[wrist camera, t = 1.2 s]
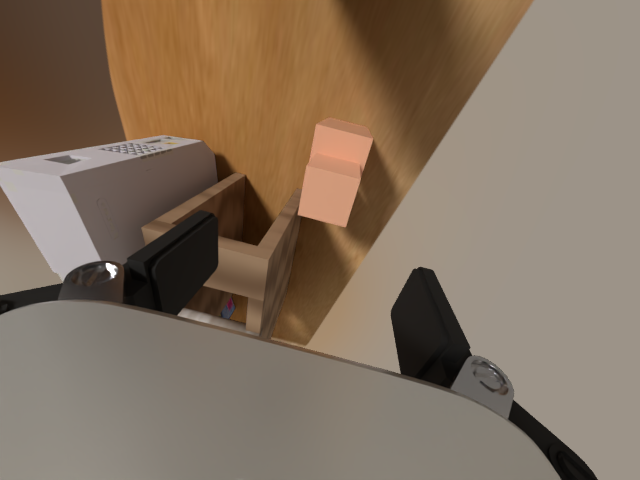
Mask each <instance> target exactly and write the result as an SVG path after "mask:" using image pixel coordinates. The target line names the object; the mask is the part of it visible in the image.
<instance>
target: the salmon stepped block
mask: <svg viewBox="0 0 640 480" xmlns="http://www.w3.org/2000/svg"><path fill="white" fill-rule="evenodd" d="M372 142H373V137H372V135H371V133H370V132H369V130H368V128H367V127H365V126H361V125H357V124H354V123H350V122H346V121H342V120H338V119H334V118H330V117H329V118H327V119H325V120H323V121H321V122H319V123H317V124H316V128H315V134H314V139H313V144H312V149H311V155H310V160H309V163H308V164H307V166H306V172H305V177H304V183H303V188H302V193H301V199H300V204H299V210H298V215H300V216H304V217H308V218H311V219H315V220H319V221H323V222H327V223H331V224H335V225H339V226H343V227H346V225H347V222H348V218H349V215H350V212H351V209H352V206H353V203H354V200H355V196H356V193H357V190H358V187H359V184H360V181H361V176H362V173H363V170H364V167H365V164H366V160H367V157H368V154H369V151H370V148H371V145H372Z"/></svg>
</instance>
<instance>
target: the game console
mask: <svg viewBox="0 0 640 480" xmlns="http://www.w3.org/2000/svg"><path fill="white" fill-rule="evenodd" d="M217 183H218V178H217V170H216V162H215V154H214V153H213V152H212V151H211V150H210V148H209V147H208V146H207V145H206V144H205V142H204V141H201V140H193V139H186V138H179V137H171V136H165V135H162V136H156V137H150V138H144V139H138V140H132V141H126V142H120V143H114V144H108V145H102V146H96V147H90V148H84V149H78V150H72V151H66V152H59V153H53V154H47V155H41V156H35V157H29V158H23V159H17V160H12V161H6V162H0V185H1V187H2V189H3V191H4V192H5V194H6V195H7V197H8V199H9V200H10V202H11V204H12V205H13V207H14V209H15V210H16V212H17V213H18V215H19V217H20V218H21V220H22V222H23V223H24V225H25V226H26V228H27V230H28V231H29V233H30V235H31V236H32V238H33V239H34V241H35V243H36V244H37V246H38V248H39V249H40V251H41V252H42V254H43V256H44V257H45V259H46V261H47V262H48V264H49V266H50V267H51V269H52V271H53V272H56V273H58V275H59V276H60V278H61V280H62V281H64V278H65V277H66V275H67V274H68V273H69V272H71V271H72V270H73V269H75V268H77V267H79V266H81V265H84V264H87V263H91V262H96V261H115V262H118V263H120V264H121V265H123V264H124V263H126V262H127V258H128V257H129V256H131V255H132V254H134V253H135V252H137V251H138V250H140V249H141V248H143V247H144V246H145V241H144V237H143V232H142V228H141V227H143V226H144V225H146V224H148V223H150V222H151V221H153V220H155V219H157V218H158V217H160V216H162V215H163V214H165V213H167V212H169V211H170V210H172V209H174V208H176V207H177V206H179V205H181V204H182V203H184V202H186V201H188V200H189V199H191V198H193V197H194V196H196V195H198V194H200V193H201V192H203V191H205V190H207V189H208V188H210V187H212V186H213V185H215V184H217Z"/></svg>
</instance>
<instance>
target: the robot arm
mask: <svg viewBox="0 0 640 480" xmlns="http://www.w3.org/2000/svg"><path fill="white" fill-rule="evenodd" d="M218 263H219V261H218V218H217V217H215V215H214V213H211V212H207V211H203V210H199V211H197V212H196V213H194V214H193V215H191V216H190V217H188V218H187V219H185V220H184V221H182V222H181V223H179V224H178V225H176V226H175V227H173V228H172V229H170V230H169V231H167V232H166V233H164V234H163V235H161V236H160V237H158V238H157V239H155V240H154V241H152V242H150V243H149V244H147V245H146V246H144V247H143V248H141V249H140V250H138V251H137V252H135V253H134V254H132V255H131V256H129V257H128V258H127V262H126V263H124V264H123V265H121V264H120V263H118V262H115V261H96V262H91V263H87V264H84V265H81V266H79V267H77V268H75V269H73V270H72V271H71V272H69V273H68V274H67V275H66V277H65V278H64V281H63V283H61V284H57V285H51V286H46V287H41V288H36V289H31V290H25V291H20V292H15V293H10V294H5V295H0V480H598V479H597V478H596V476H595V475H594V473H593V472H592V470H591V469H590V468H589V467H588V466H587V464H585V462H584V461H583V460H582V459H581V458H580V457H579V456H578V455H577V454H575V452H573V451H572V450H571V449H570V448H569V447H568V446H566V445H565V444H564V443H563V442H562V441H561V440H559V439H558V438H557V437H556V436H555V435H554V434H552V433H551V432H550V431H549V430H548V429H547V428H546V427H544V426H543V425H542V424H541V423H540V422H538V421H537V420H536V419H535V418H534V417H533V416H531V415H530V414H529V413H528V412H527V411H526V410H525V409H523V408H522V407H521V406H520V405H519V404H518V403H516V402H515V401H514V400H513V397H514V389H513V387H512V384H511V382H510V381H509V379H508V377H507V376H506V375H505V374H504V373H503V371H502V370H500V368H498V367H497V366H496V365H495V364H494V363H492V362H490V361H489V360H487V359H485V358H483V357H480V356H475V355H474V356H472V354H471V352H470V350H469V349H470V346H469V343H468V342H467V339H466V337H465V335H464V333H463V331H462V329H461V327H460V325H459V323H458V321H457V319H456V316H455V315H454V313H453V310H452V308H451V306H450V304H449V302H448V300H447V298H446V296H445V294H444V292H443V290H442V288H441V285H440V283H439V282H438V279H437V277H436V275H435V273H434V271H433V270H431V269H427V268H423V267H419V268H417V269H414V270H413V271H412V273H411V275H410V276H409V279H408V280H407V282H406V284H405V285H404V287H403V289H402V291H401V293H400V294H399V296H398V298H397V300H396V302H395V304H394V305H393V308H392V310H391V320H392V325H393V331H394V337H395V343H396V348H397V354H398V360H399V366H400V371H401V374H398V373H395V372H392V371H388V370H384V369H381V368H377V367H373V366H370V365H366V364H362V363H358V362H354V361H350V360H347V359H343V358H339V357H336V356H332V355H328V354H324V353H321V352H317V351H313V350H309V349H305V348H301V347H298V346H294V345H290V344H286V343H282V342H278V341H275V340H271V339H267V338H263V337H259V336H255V335H251V334H247V333H244V332H240V331H236V330H232V329H228V328H224V327H220V326H216V325H212V324H208V323H204V322H200V321H196V320H192V319H188V318H185V317H180V316H177V315H178V314H179V313H180V312H181V310H182V309H183V308H184V307H185V306H186V305H187V303H188V302H189V301H190V300H191V299H192V298H193V296H194V295H195V294H196V293H197V292H198V291H199V289H200V288H201V287H202V286H203V285H204V284H205V282H206V281H207V280H208V279H209V278H210V277H211V275H212V274H213V273H214V272H215V271H216V269H217V267H218Z"/></svg>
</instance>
